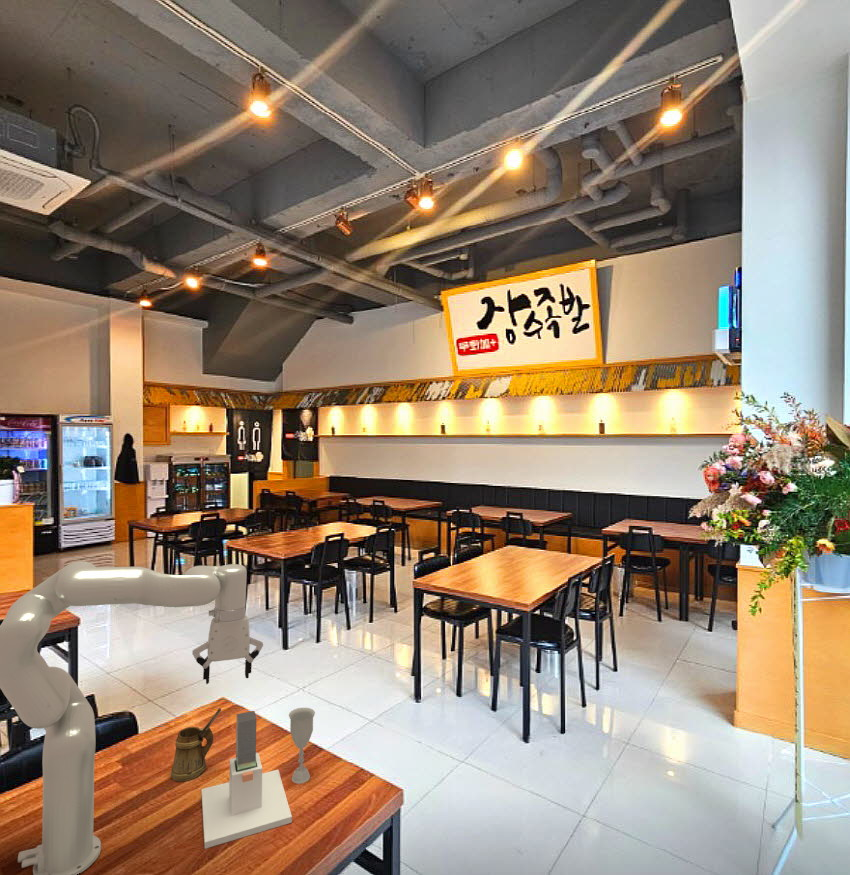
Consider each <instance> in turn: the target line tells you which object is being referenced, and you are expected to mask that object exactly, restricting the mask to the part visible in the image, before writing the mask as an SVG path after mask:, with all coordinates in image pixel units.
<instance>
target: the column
mask: <svg viewBox="0 0 850 875" xmlns="http://www.w3.org/2000/svg"><path fill="white" fill-rule="evenodd" d="M235 725H236V728H235V729H236V731H235V732H236V733H235V734H236V735H235V739H236V740H235V743H236V744H235V758H236V772H239V771H243V770H247V769H251V768H255V767H256V753H257V715H256V712H255V710H250V711H246V712H242V713H236V724H235Z"/></svg>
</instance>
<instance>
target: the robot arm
mask: <svg viewBox="0 0 850 875" xmlns="http://www.w3.org/2000/svg"><path fill="white" fill-rule="evenodd" d="M247 572H248V571H247V568H246V566H244V565H242V564H236V563H234V564H232V563H229V564H225V565H220V566H218V565H217V566H215V565H213V566H212V565H195V566H193V567H190V568H189V569H187V570H186V571H185V572H184V574H181V575H179V574H169V573H168V574H167V573H162V572H158V571H155V570H153V569H150V568H148V567H147V568H146V567H143V566H96V565H94V564H93V563H92V562H89V561H85V560H84V561H82V560H79V561H75V562H74V561H73V562H71V563H69V564H67V565H65V566H64V567H62V568H61V569H59V570H58V571H57V572H55V573H54V574H52V575H51V576H50V577H48V578H46V579H45V580H43V581H42V582H40V583H39V584H38V585H37V586H35V587H33V588H32V589H31V590H29V591H27V593H24V594H23V595H22V596H21V597H19V598H18V599H16V600H15V601H14V602H13V603H12V605H11V606H9V609H8V610H7V612H6V615H5V617H4V618H3V621H2V623H1V624H0V690H1V691H2V693H3V695H4V696H5V697H6V699H7V701H8V702H9V704H10V705H11V706H12V708H13V709H14V710H15V713H16V714H17V715H18V717H19V719H20V720H21V721H22V722H23V723H24V724H25V725H26V726H28V727H29V728H33V729H37V730H38V729H44V732H45V735H44V740H43V748H42V825H41V826H42V827H41V828H42V830H41V831H42V834H41V836H42V837H41V839H42V841H41V844H39V845H36V847H35V848H30V849H26V850H23V851H19V852H18V856H17V863H21V868H22V869H24V868H27V867H29V866H33V868H32V875H77V874H78V875H79V873H80V874H82V873H83V872H84V871H85V870H87V869H89V868H90V866H92V865H93V863H94V862H96V860H97V859H98V858H99V856H100V854H101V850H102V842H101V840H100V838H99V837H98V836H97V835H94V816H95V815H94V814H95V813H94V812H95V810H94V809H95V808H94V806H95V801H94V800H95V759H96V758H95V757H96V756H95V755H96V725H95V724H96V723H95V722H96V721H95V714H94V710H93V707H92V706H91V704H90V702H89V701H88V699H87V698H86V697H85V695H84V693H83V692H82V690H80V688H79V686H78V685H77V683H76V682H75V680H74V679H73V677H72V676H71V675H70V674H69V672H68V671H66V670H65V669H64V668H62V667H58V666H49V664H48V663H47V661H46V659H45V658H44V657H43V656H42V655H41V653H39V652H38V651H39V650H38V646H39V643H40V642H41V641H42V640H43V638H44V637H45V636H46V634H47V633H48V632H49V629H50V627H51V623H52V620H53V619H54V618H56V617H57V616H58V615H60V614H61V613H62V612H64V611H65V610H66V609H68V608H69V607H87V606H88V607H89V606H90V607H91V606H105V605H129V604H134V605H135V604H137V605H142V606H144V605H145V606H154V607H164V608H183V607H184V608H185V607H199V606H205V605H208V604H210V603H212V602H214V608H213V609H211V610H208V617H213V618H212V619H211V621H210V626H209V632H208V640H207V641H206V642H204V643H203V644H201V645H199V646H198V647H196V648H194V649H192V652H191V653H192V655H193V657H194V660H196V663H197V664H199V665H200V667H202V669H203V674H202V675H203V676H202V680H203V681H204V680H205V684H206V685H208V684H210V673H211V672H210V668H211V667H210V665H211V663H212V662H223V661H231V660H236V659H237V660H239V659H243V658H244V659H245V662H244V664H245V665H244V676H245V679H249V675H250V674H252V663H253V661H254V660H255V659H256V658H257V657H258V656H259V655H260V651H261V650H262V649H263V646H264V642H263V641H261V640H258V639H256V638H253V637H251V636H250V622H249V617H248V615H246V603H247V602H246V599H247V598H246V597H247V577H248V576H247ZM251 645H253V646H255V648H254V649H253V651H252V652H250V646H251ZM205 650H207V656H206V657H205V658H204V657H203V656H202V655H201V654H200V653H202V652H204V651H205Z"/></svg>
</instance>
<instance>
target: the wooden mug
mask: <svg viewBox="0 0 850 875" xmlns="http://www.w3.org/2000/svg"><path fill="white" fill-rule="evenodd" d="M221 711H222V709H221V707H219V708H218V709H217V710H216V712H215V713H214V714H213V716H212V718H210V720H209V721H208V722H207V723H206V725H205V726H204V727H203V728H200V727H198V726H189V727H185V728H183V729H181V730H180V731H178V733H177V737H176V739H175V744H174V745H175V752H174V757H173V764H172V768H171V771H170V778H171V779H172V780H173V781H175V782H178V783H179V782H180V783H181V782H188V781H191V780H194V779H196V778H198V777H199V776H201V775H202V774H203V772H204V771H205V770H206V769H207V761H206V756H207V754H208V753H209V751H210V749H211V747H212V746H213V743H214V734H213V731H212V729H211V725H212V723H213V722H214V721H215V719H216V718H218V715H219V714H220V713H221ZM204 740H206V743H205V745H204V746H203V743H202V742H204Z"/></svg>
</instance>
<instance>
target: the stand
mask: <svg viewBox="0 0 850 875" xmlns="http://www.w3.org/2000/svg"><path fill="white" fill-rule="evenodd" d="M228 778H229V779H228V780H229V781H227V782H224V783H221V784H219V783H218V784H216V785H212V786H208V787H205V788H202V789H201V806H202V808H201V809H202V810H201V811H202V824H203V825H202V826H203V842H204V849H209V848H212V847H216V846H218V845H222V844H226V843H229V842H233V841H235V840H239V839H242V838H245V837H248V836H253V835H256V834H258V833H262V832H265V831H269V830H272V829H275V828H278V827H282V826H285V825H288V824H289V825H290V824H291V823H293V815H292V812H291V809H290V806H289V802H288V799H287V796H286V792H285V788H284V784H283V782H282V777H281V774H280V770H279V769H275V770H271V771H268V772H263V766H262V762H261V758H260V754H259V752H256V767H255V768H251V769H247V770H243V771H239V772H236V757H233V758H229V777H228Z"/></svg>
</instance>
